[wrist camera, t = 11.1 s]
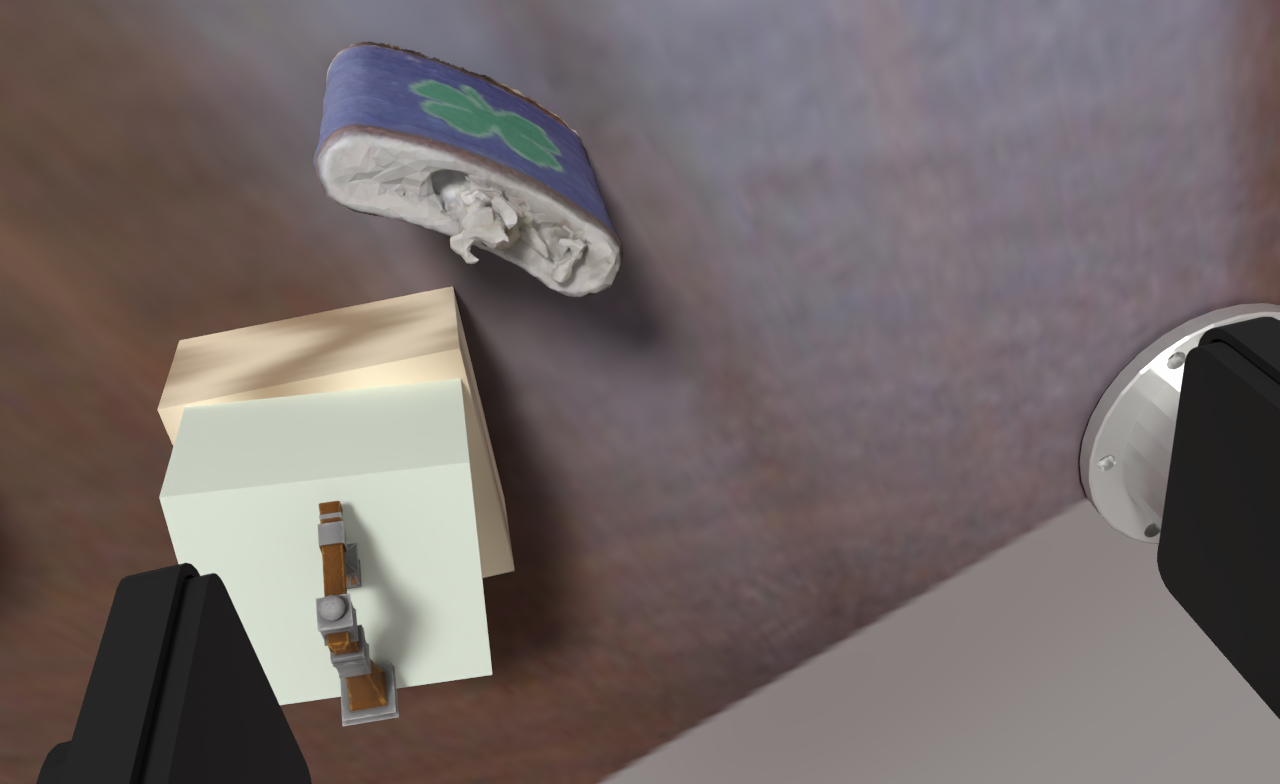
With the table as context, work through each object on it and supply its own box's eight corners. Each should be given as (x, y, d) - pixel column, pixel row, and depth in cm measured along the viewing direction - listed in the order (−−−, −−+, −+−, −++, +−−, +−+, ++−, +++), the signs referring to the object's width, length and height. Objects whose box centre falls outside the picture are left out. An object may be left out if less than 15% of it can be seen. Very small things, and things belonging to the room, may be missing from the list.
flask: (316, 95, 38) (297, 221, 29) (348, 12, 36) (338, 117, 28) (566, 200, 41) (618, 341, 32) (602, 127, 40) (667, 253, 31)
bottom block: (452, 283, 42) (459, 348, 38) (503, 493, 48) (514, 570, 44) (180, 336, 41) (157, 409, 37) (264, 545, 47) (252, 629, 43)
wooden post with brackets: (356, 482, 33) (365, 626, 31) (389, 596, 40) (399, 723, 37) (292, 490, 33) (296, 636, 30) (337, 604, 39) (342, 732, 37)
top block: (460, 378, 39) (469, 462, 35) (482, 579, 44) (492, 674, 39) (184, 406, 37) (159, 497, 33) (238, 611, 42) (221, 713, 38)
